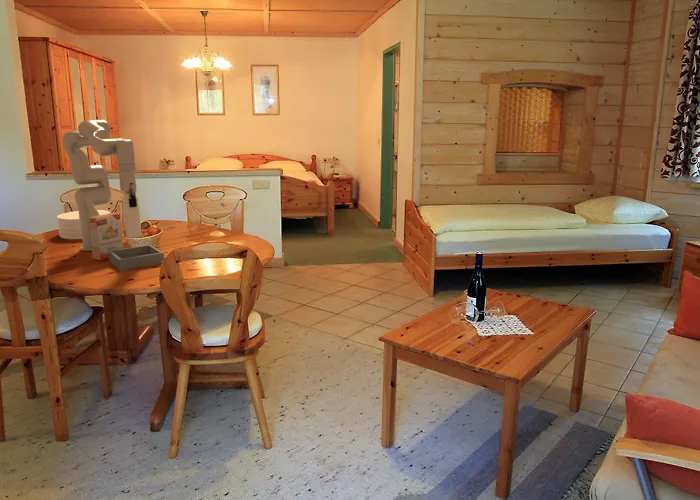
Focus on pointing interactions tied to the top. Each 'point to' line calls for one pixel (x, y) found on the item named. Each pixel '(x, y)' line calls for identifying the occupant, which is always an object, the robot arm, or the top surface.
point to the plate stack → (72, 224)
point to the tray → (135, 257)
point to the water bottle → (131, 218)
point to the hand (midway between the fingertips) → (130, 205)
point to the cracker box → (105, 234)
